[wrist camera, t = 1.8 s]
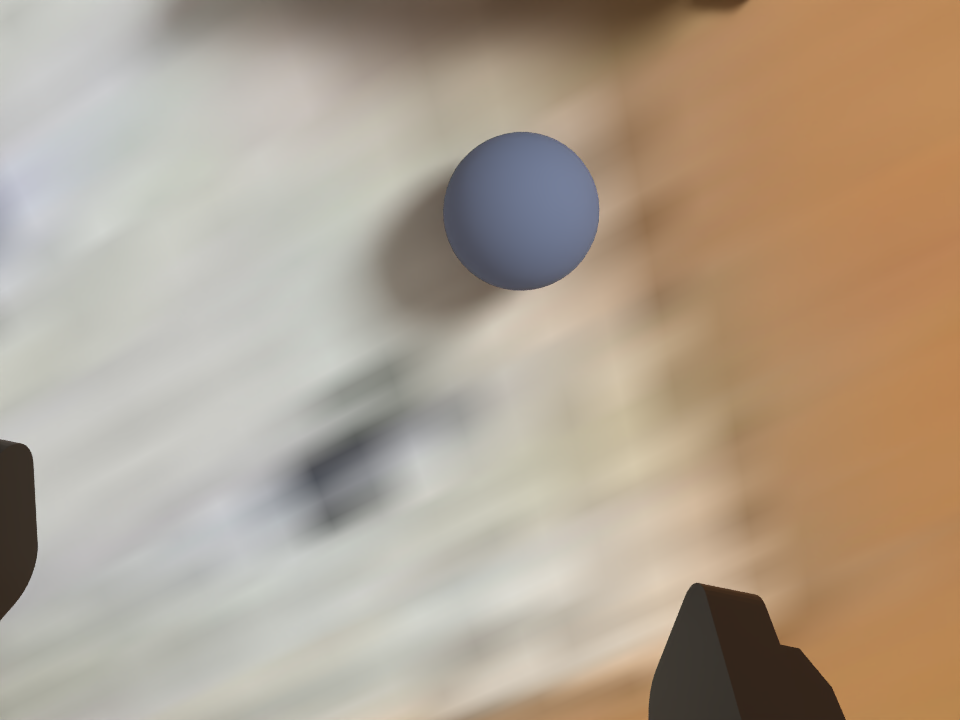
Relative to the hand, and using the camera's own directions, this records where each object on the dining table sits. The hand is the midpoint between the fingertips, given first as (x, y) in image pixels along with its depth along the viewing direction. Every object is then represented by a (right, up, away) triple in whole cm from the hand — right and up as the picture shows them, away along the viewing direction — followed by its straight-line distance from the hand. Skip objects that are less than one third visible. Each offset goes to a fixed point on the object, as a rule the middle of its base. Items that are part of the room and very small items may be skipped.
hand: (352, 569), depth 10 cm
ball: (+3, +8, +15) cm, 17 cm away
